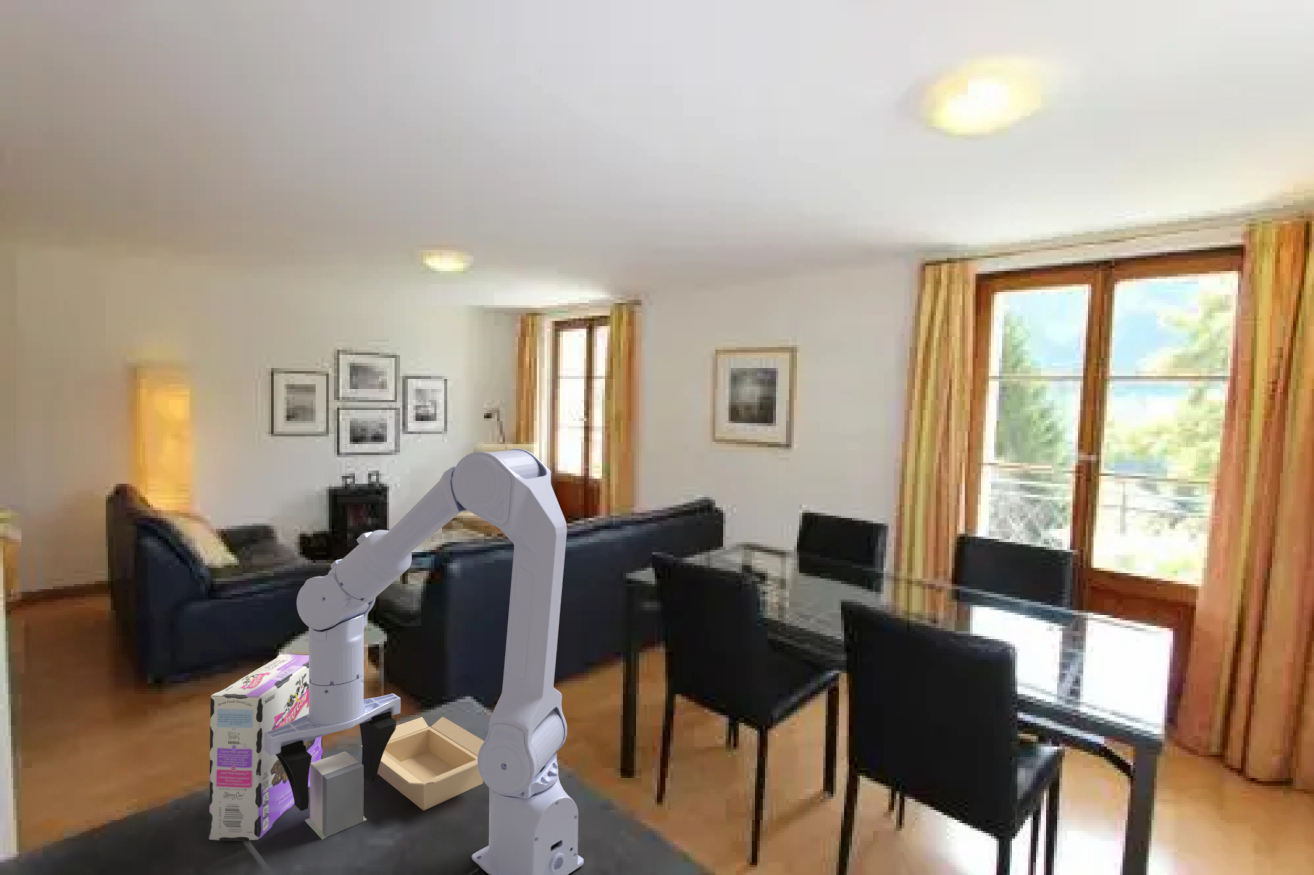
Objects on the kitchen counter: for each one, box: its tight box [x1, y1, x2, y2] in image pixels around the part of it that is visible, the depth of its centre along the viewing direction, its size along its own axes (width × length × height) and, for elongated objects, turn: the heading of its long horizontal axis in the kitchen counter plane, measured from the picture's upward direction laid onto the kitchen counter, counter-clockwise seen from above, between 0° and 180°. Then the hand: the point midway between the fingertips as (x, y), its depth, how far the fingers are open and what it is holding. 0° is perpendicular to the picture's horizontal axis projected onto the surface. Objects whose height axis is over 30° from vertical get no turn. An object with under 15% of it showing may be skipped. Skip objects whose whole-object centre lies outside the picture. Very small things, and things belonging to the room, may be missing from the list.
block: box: [309, 750, 365, 838], centre depth 77 cm, size 5×4×7 cm
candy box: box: [208, 653, 323, 843], centre depth 80 cm, size 14×6×16 cm, turn 179°
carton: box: [359, 716, 485, 811], centre depth 86 cm, size 12×17×4 cm
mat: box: [304, 815, 368, 840], centre depth 77 cm, size 5×5×1 cm
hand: (336, 792), depth 77 cm, fingers open, 7 cm apart
